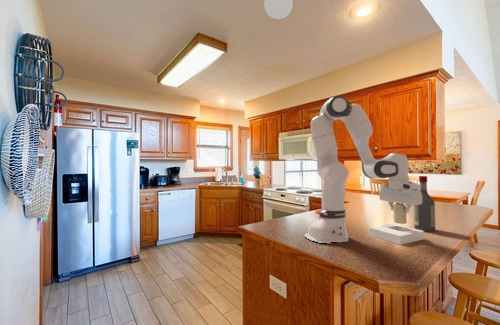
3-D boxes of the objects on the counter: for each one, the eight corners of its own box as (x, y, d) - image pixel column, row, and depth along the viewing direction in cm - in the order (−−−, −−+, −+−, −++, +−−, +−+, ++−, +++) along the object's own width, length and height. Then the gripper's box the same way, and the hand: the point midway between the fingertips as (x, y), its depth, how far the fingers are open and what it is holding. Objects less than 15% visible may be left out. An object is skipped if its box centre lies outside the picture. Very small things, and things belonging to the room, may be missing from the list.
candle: (391, 221, 120) (390, 202, 121) (401, 221, 121) (400, 202, 121) (398, 224, 115) (398, 204, 115) (409, 223, 115) (408, 203, 115)
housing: (400, 244, 106) (399, 236, 106) (369, 235, 120) (369, 227, 120) (424, 239, 113) (424, 231, 113) (392, 230, 128) (392, 223, 128)
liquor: (433, 228, 130) (432, 175, 131) (435, 232, 123) (434, 176, 123) (414, 226, 135) (412, 175, 136) (414, 230, 128) (413, 176, 128)
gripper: (376, 183, 126) (377, 208, 126) (415, 186, 108) (416, 215, 107) (384, 182, 129) (384, 207, 129) (423, 185, 110) (424, 214, 110)
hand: (399, 211), depth 118 cm, fingers closed on candle, 5 cm apart
